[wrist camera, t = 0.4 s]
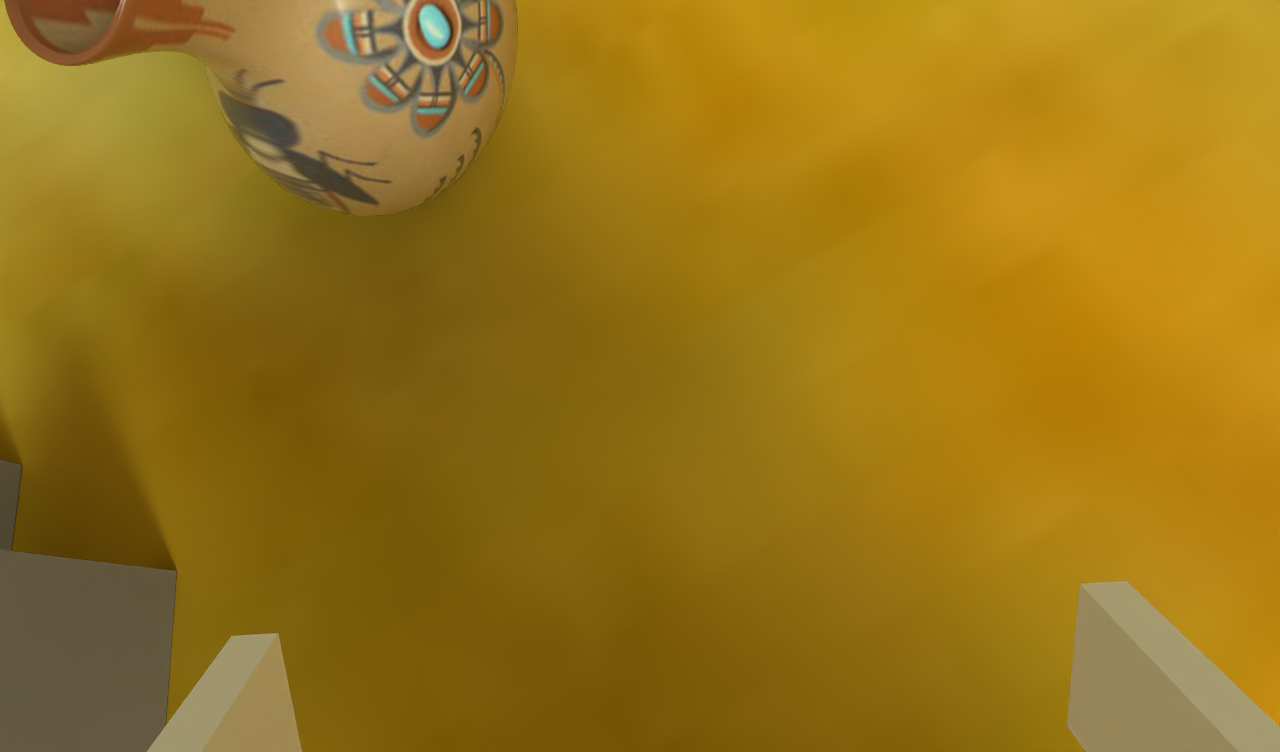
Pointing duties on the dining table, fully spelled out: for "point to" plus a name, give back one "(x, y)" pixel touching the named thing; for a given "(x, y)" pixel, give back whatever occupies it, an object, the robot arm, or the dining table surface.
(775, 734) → the dining table surface
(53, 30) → the ceramic vessel
